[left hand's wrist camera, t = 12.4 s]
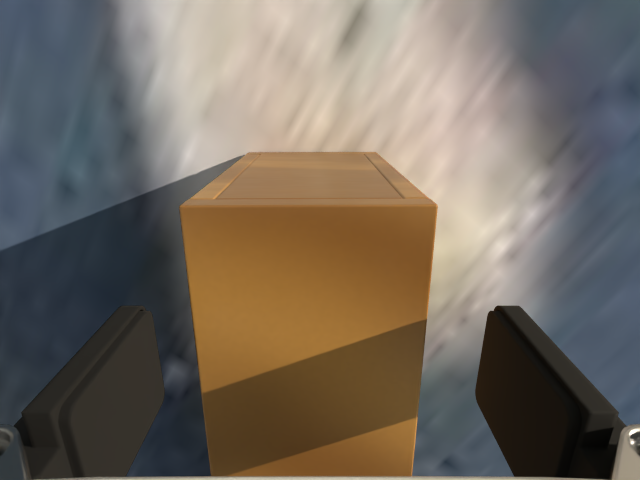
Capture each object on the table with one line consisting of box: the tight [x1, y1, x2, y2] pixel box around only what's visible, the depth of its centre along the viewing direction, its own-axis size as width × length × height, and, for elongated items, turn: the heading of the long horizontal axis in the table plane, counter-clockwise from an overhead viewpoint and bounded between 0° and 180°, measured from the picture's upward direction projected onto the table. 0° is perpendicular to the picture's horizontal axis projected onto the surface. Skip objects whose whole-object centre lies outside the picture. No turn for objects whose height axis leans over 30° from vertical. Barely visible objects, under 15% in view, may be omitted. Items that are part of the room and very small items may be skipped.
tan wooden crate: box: [179, 152, 438, 476], centre depth 18 cm, size 18×6×11 cm, turn 0°
